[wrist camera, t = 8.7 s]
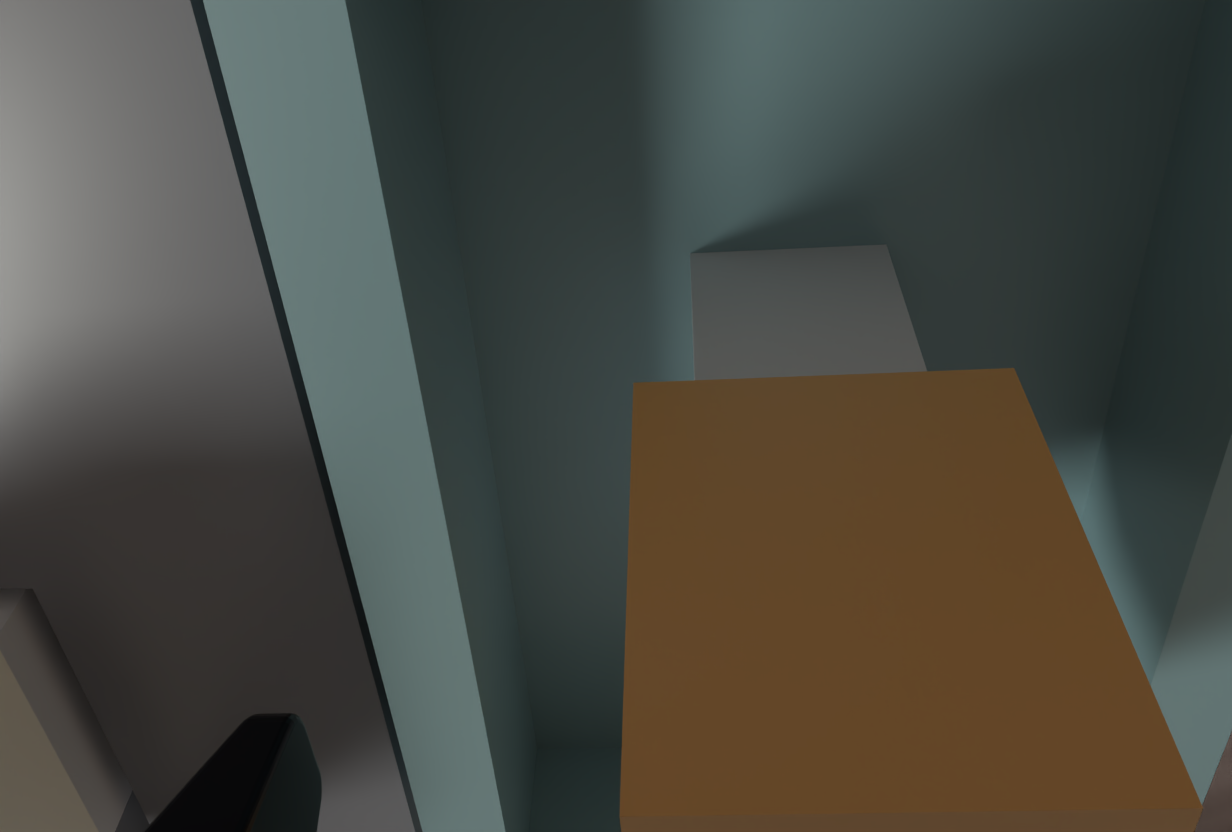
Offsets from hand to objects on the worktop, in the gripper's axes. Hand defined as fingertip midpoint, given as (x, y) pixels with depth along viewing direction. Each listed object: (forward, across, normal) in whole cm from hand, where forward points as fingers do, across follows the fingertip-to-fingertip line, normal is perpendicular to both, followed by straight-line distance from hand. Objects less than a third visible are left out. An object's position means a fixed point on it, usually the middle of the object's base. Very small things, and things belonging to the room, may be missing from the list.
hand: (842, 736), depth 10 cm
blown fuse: (+4, 0, 0) cm, 5 cm away
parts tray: (+5, 0, 0) cm, 5 cm away
